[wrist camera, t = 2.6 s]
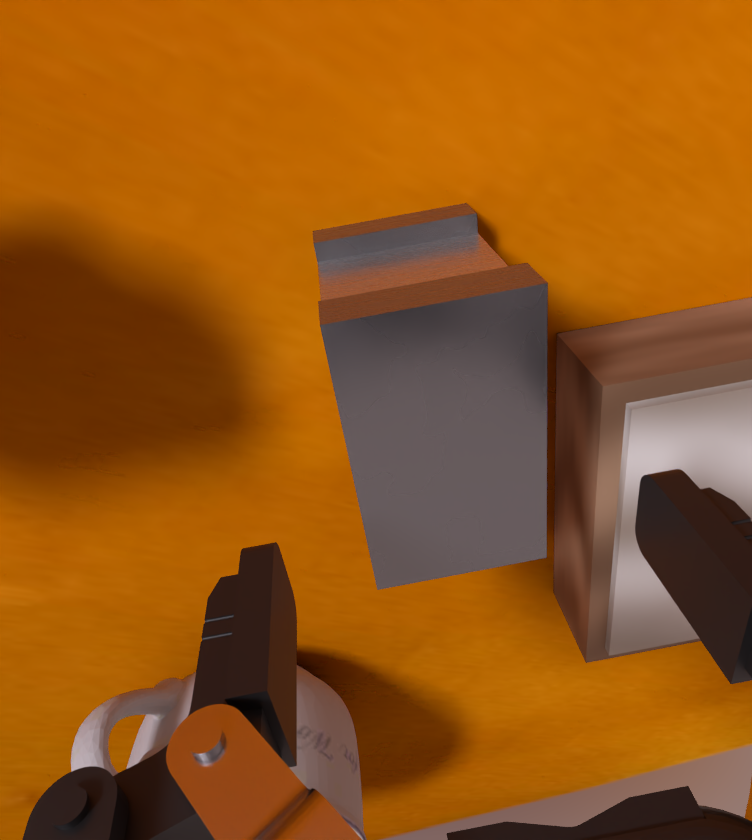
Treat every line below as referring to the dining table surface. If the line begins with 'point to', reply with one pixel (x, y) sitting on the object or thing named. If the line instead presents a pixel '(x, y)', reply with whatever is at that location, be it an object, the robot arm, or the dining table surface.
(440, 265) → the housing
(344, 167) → the dining table surface
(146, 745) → the teacup
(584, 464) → the stand
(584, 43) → the dining table surface
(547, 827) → the robot arm
